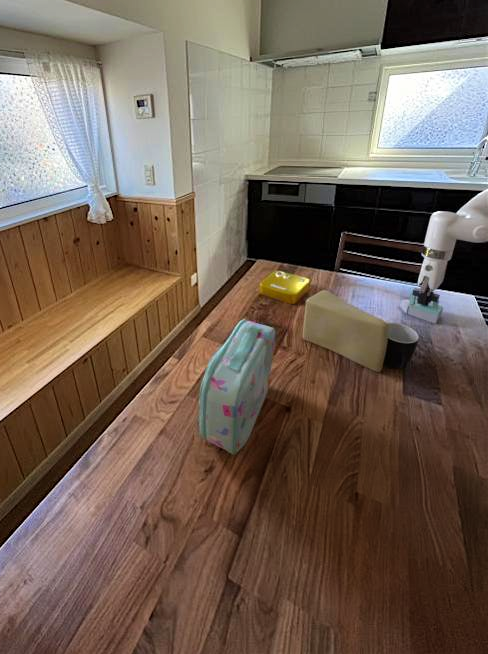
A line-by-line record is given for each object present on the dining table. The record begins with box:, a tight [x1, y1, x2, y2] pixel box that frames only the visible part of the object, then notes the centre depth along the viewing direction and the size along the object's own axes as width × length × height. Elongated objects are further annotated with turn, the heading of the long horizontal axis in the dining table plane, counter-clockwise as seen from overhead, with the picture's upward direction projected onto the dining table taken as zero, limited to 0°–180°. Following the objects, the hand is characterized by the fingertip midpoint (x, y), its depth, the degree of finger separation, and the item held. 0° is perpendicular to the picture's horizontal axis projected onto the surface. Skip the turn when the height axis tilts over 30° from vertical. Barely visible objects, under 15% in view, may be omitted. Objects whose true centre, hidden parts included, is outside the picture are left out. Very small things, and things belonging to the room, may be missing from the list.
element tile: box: [259, 270, 310, 305], centre depth 130 cm, size 15×15×5 cm
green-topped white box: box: [399, 287, 444, 324], centre depth 112 cm, size 11×6×8 cm, turn 42°
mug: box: [383, 322, 420, 371], centre depth 90 cm, size 12×9×10 cm
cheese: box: [302, 289, 388, 373], centre depth 96 cm, size 22×10×15 cm, turn 35°
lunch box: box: [198, 318, 276, 455], centre depth 78 cm, size 27×10×21 cm, turn 152°
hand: (423, 302), depth 111 cm, fingers closed on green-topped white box, 2 cm apart
